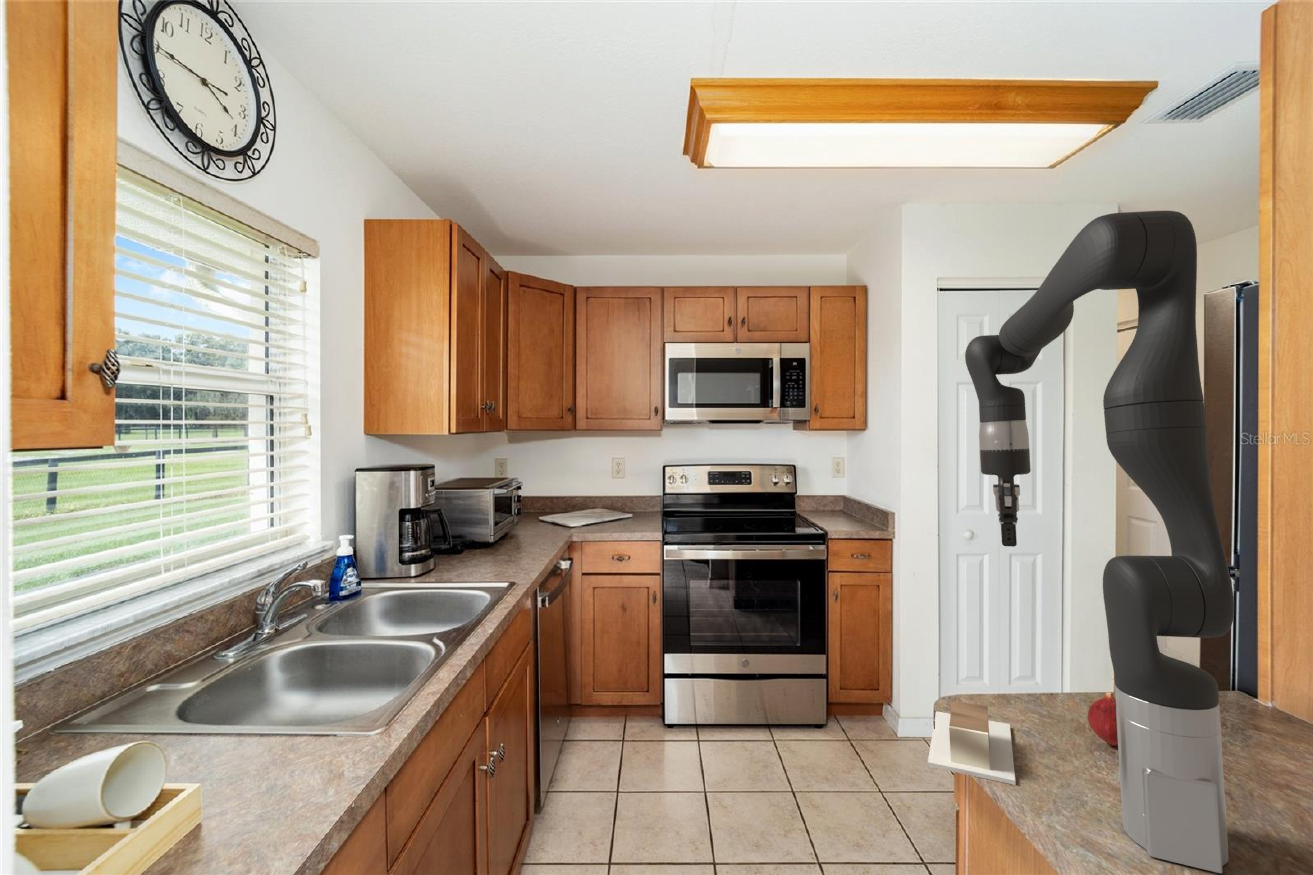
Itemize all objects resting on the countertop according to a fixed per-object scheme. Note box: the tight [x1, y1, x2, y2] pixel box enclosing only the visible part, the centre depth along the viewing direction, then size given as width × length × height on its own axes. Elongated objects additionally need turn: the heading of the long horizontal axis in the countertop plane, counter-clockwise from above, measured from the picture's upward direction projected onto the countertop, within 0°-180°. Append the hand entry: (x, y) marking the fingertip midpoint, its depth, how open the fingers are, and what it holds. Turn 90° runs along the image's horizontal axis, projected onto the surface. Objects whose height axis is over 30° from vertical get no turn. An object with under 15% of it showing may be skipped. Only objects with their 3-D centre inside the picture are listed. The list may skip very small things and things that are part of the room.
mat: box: [927, 711, 1016, 786], centre depth 90 cm, size 18×11×1 cm, turn 150°
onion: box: [1087, 691, 1118, 747], centre depth 88 cm, size 6×6×8 cm
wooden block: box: [949, 700, 990, 770], centre depth 88 cm, size 5×5×10 cm
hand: (1009, 545), depth 101 cm, fingers closed
